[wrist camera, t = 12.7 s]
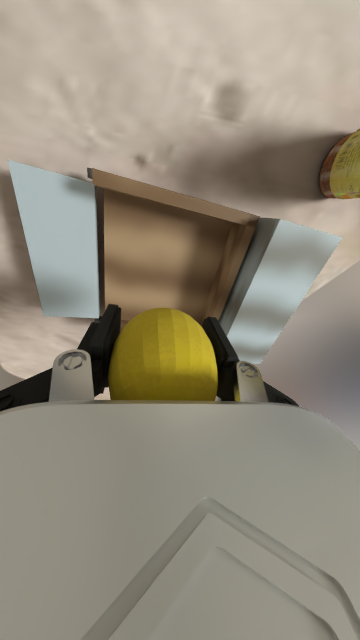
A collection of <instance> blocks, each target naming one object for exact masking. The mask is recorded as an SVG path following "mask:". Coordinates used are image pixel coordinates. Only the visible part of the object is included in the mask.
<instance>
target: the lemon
mask: <svg viewBox="0 0 360 640" xmlns="http://www.w3.org/2000/svg"><path fill="white" fill-rule="evenodd" d="M108 383H109V391H110V398H111V400H172V401H215V398H216V394H217V388H218V371H217V364H216V359H215V354H214V350H213V347H212V344H211V342H210V340H209V338H208V336H207V335H206V333H205V331H204V330H203V328H202V327H201V326H200V324H198V323H197V322H196V321H195V320H194V319H193V318H192V317H191V316H189V315H188V314H186V313H184V312H182V311H180V310H176V309H172V308H154V309H150V310H146V311H144V312H142V313H140V314H138V315H137V316H135V317H134V318H133V319H132V320H130V321H129V322H128V323H127V324H126V325H125V327H124V328H123V330H122V331H121V333H120V334H119V336H118V337H117V339H116V341H115V343H114V346H113V350H112V353H111V358H110V362H109V369H108Z"/></svg>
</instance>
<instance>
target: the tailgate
mask: <svg viewBox="0 0 360 640" xmlns="http://www.w3.org/2000/svg"><path fill="white" fill-rule="evenodd" d="M7 161H8V165H9V169H10V174H11V178H12V182H13V187H14V191H15V195H16V199H17V204H18V208H19V212H20V217H21V221H22V225H23V230H24V234H25V238H26V243H27V247H28V251H29V255H30V260H31V264H32V268H33V273H34V277H35V281H36V286H37V290H38V294H39V299H40V303H41V307H42V311H43V316H54V317H78V318H99V316H100V307H99V275H98V243H97V211H96V185H93V183H91V182H87V181H83V180H80V179H76V178H73V177H69V176H65V175H62V174H58V173H54V172H51V171H47V170H44V169H40V168H36V167H33V166H29V165H25V164H22V163H18V162H15V161H11V160H7Z"/></svg>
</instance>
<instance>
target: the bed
mask: <svg viewBox="0 0 360 640" xmlns="http://www.w3.org/2000/svg"><path fill="white" fill-rule="evenodd" d="M87 172H88V178H91V179H92V180H93V185H96V186H98V187H101V188H103V189H104V267H105V311H106V308H107V306H108V304H115V305H118V307H121V329H120V333H121V331H122V330H123V328H124V327H125V325H126V324H127V323H128V322H129V321H130V320H132V319H133V318H134V317H135V316H137V315H138V314H140V313H142V312H144V311H146V310H150V309H154V308H172V309H176V310H180V311H182V312H184V313H186V314H188V315H189V316H191V317H192V318H193V319H194V320H195V321H196V322H197V323H198V324H200V326H201V327H202V324H203V321H204V319H205V318H207V317H216V318H217V320H218V322H219V324H220V325H221V327H222V329H223V331H224V332H225V334H226V336H227V338H228V340H229V341H230V343H231V345H232V347H233V348H234V350H235V352H236V354H237V355H238V359H239V360H240V361H246V362H249V363H257V364H260V363H261V362H262V360H263V359H264V357H265V356H266V354H267V352H268V351H269V350H270V348H271V346H272V345H273V343H274V342H275V340H276V339H277V337H278V336H279V334H280V333H281V331H282V330H283V328H284V326H285V325H286V323H287V322H288V320H289V319H290V317H291V316H292V314H293V313H294V311H295V310H296V308H297V307H298V305H299V304H300V302H301V301H302V299H303V297H304V296H305V294H306V293H307V291H308V290H309V288H310V287H311V285H312V284H313V282H314V281H315V279H316V278H317V276H318V275H319V273H320V271H321V270H322V268H323V267H324V265H325V264H326V262H327V261H328V259H329V258H330V256H331V255H332V253H333V252H334V250H335V248H336V247H337V245H338V244H339V242H340V241H341V239H342V238H343V237H340V236H336V235H333V234H329V233H326V232H323V231H319V230H316V229H312V228H309V227H305V226H302V225H299V224H295V223H292V222H288V221H285V220H282V219H272V218H260V216H256V215H253V214H249V213H246V212H243V211H239V210H236V209H232V208H229V207H225V206H222V205H218V204H215V203H211V202H208V201H204V200H201V199H197V198H194V197H191V196H187V195H184V194H180V193H177V192H173V191H170V190H166V189H163V188H159V187H156V186H152V185H149V184H145V183H142V182H139V181H135V180H132V179H128V178H125V177H121V176H118V175H114V174H111V173H107V172H104V171H100V170H97V169H93V168H92V169H91V168H87ZM101 319H102V316H99V318H95V322H96V323H100V321H101Z"/></svg>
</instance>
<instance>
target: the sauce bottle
mask: <svg viewBox="0 0 360 640" xmlns="http://www.w3.org/2000/svg"><path fill="white" fill-rule="evenodd" d="M319 182H320V188H321V191H322V193H323V194H324V195H325V196H327V197H328V198H338V199H351V198H360V129H358V130H357V132H354V133H352V134H350V135H348V136H346V137H344V138H342V139H341V140H340V141H339V142H338V143H337V144H336V145H335V146H334V147H333V148H332V150H331V151H330V153H329V155H328V156H327V157H326V159H325V161H324V164H323V166H322V169H321V172H320V180H319Z"/></svg>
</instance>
